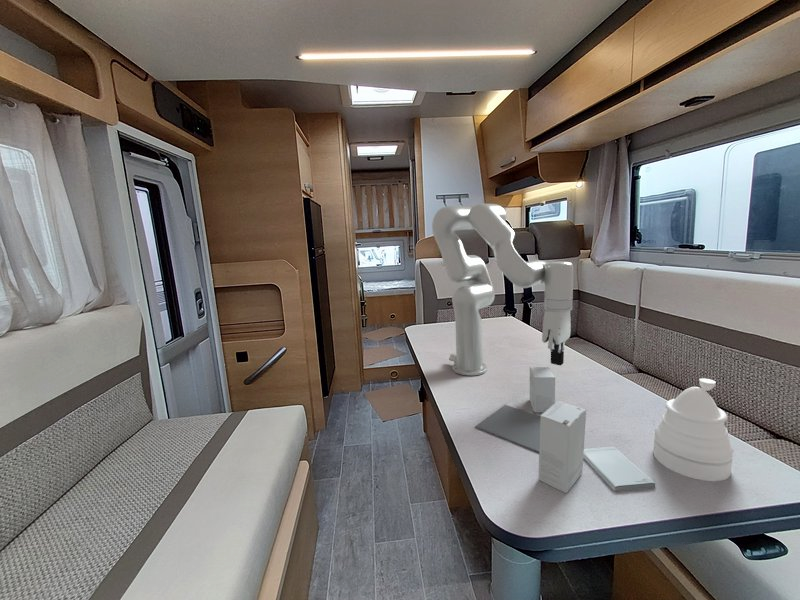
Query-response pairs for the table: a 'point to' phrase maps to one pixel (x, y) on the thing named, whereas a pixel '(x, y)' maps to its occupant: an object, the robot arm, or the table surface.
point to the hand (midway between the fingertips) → (557, 363)
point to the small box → (542, 388)
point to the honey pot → (694, 436)
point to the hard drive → (616, 469)
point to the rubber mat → (514, 426)
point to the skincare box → (561, 445)
